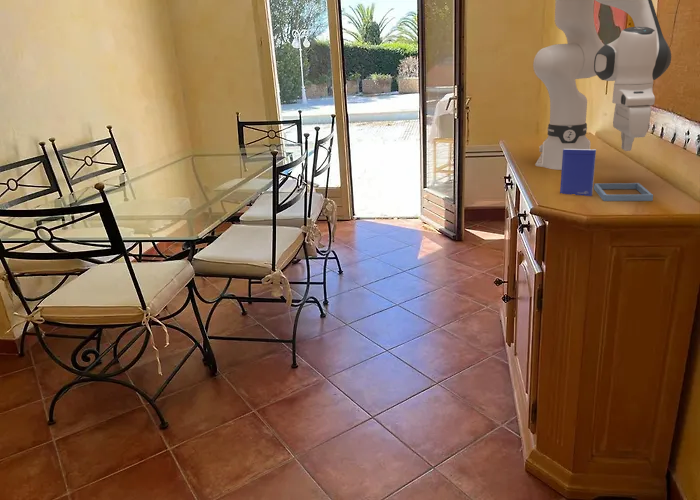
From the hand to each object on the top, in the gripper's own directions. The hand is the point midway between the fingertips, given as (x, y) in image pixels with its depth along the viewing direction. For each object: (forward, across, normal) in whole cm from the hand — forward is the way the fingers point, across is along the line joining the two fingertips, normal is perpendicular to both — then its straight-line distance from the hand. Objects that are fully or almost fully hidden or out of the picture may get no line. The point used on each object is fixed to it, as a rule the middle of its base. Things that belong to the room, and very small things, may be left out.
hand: (626, 150), depth 143 cm
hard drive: (+12, 0, -12) cm, 17 cm away
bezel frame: (+12, 0, 0) cm, 12 cm away
